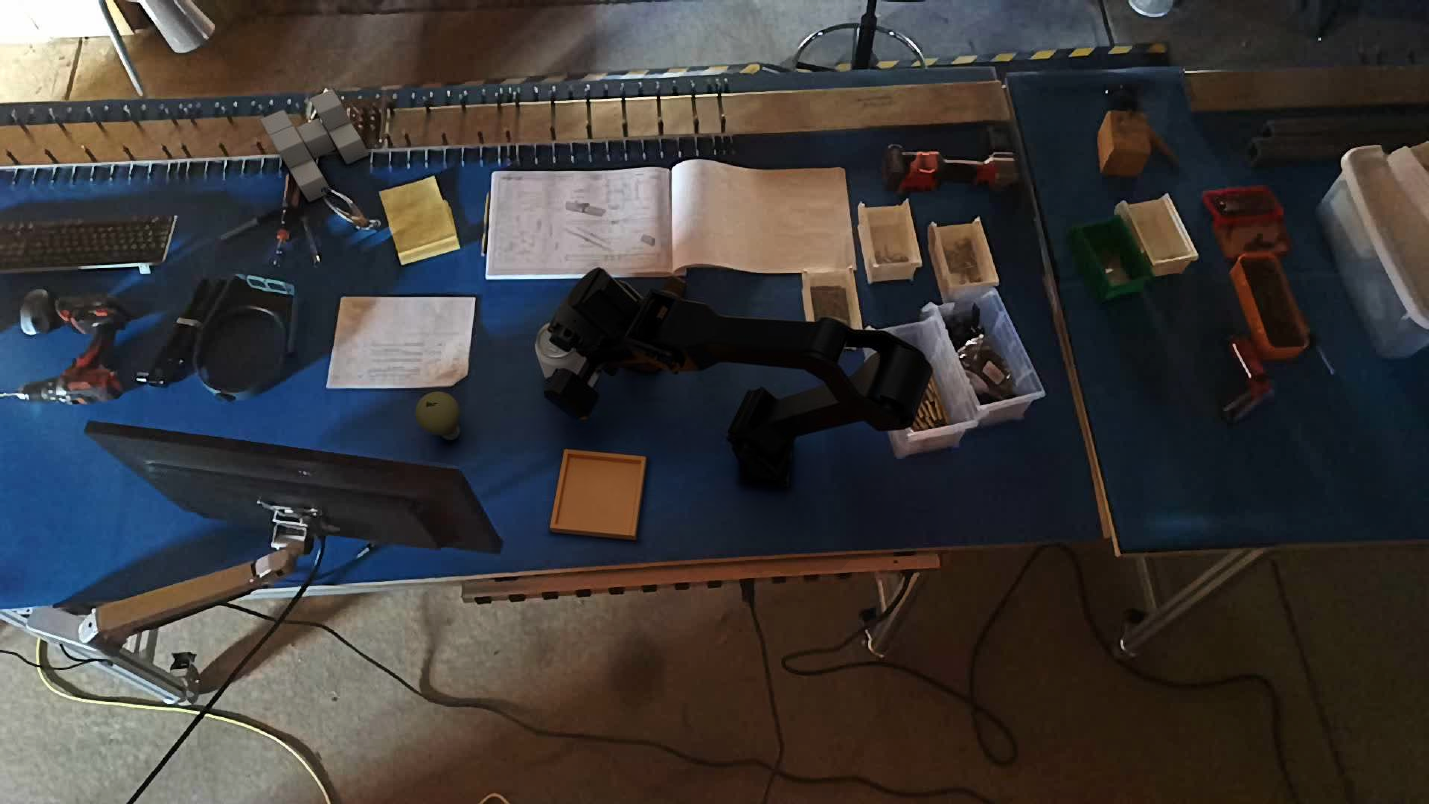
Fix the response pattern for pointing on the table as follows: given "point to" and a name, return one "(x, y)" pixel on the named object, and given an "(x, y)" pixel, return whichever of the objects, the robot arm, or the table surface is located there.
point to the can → (555, 355)
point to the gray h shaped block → (314, 141)
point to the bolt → (673, 287)
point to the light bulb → (439, 414)
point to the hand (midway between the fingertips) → (564, 354)
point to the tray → (599, 494)
